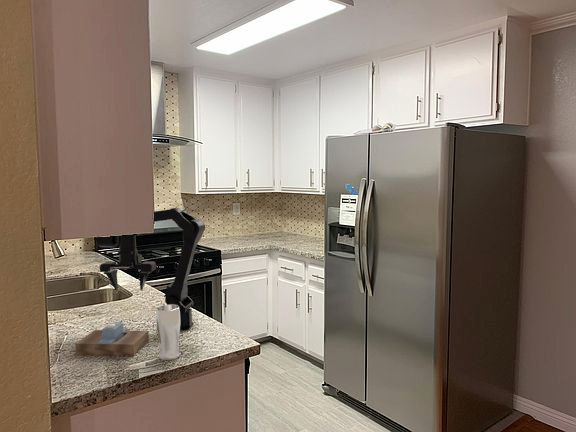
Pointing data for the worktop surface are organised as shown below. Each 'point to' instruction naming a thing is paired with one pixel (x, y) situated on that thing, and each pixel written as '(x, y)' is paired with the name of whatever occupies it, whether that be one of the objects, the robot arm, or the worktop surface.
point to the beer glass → (168, 331)
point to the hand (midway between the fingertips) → (129, 290)
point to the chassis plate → (112, 344)
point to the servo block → (112, 333)
